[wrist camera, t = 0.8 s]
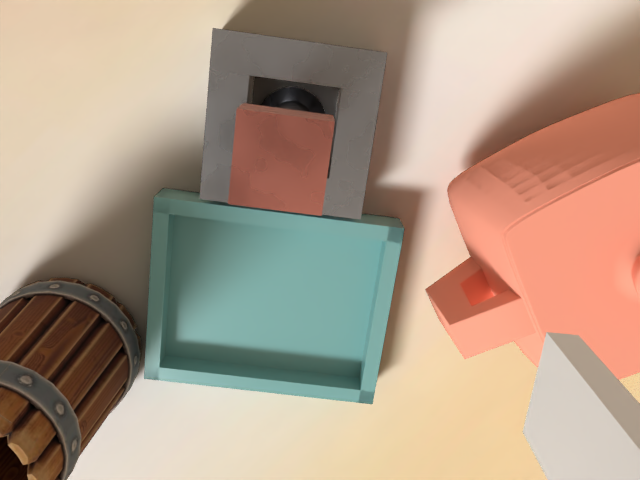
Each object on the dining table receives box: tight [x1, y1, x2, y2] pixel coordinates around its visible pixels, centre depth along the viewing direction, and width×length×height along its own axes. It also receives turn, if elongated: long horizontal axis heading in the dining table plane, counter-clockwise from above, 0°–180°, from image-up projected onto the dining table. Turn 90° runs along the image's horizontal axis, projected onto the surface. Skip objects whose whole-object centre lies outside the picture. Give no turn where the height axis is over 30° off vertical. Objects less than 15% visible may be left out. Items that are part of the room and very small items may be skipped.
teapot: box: [425, 93, 640, 380], centre depth 35 cm, size 22×13×14 cm, turn 116°
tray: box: [144, 188, 404, 404], centre depth 42 cm, size 16×13×2 cm
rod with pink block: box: [228, 86, 335, 216], centre depth 33 cm, size 4×4×15 cm
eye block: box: [200, 28, 387, 219], centre depth 38 cm, size 10×10×4 cm
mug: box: [0, 278, 142, 480], centre depth 38 cm, size 16×11×15 cm
